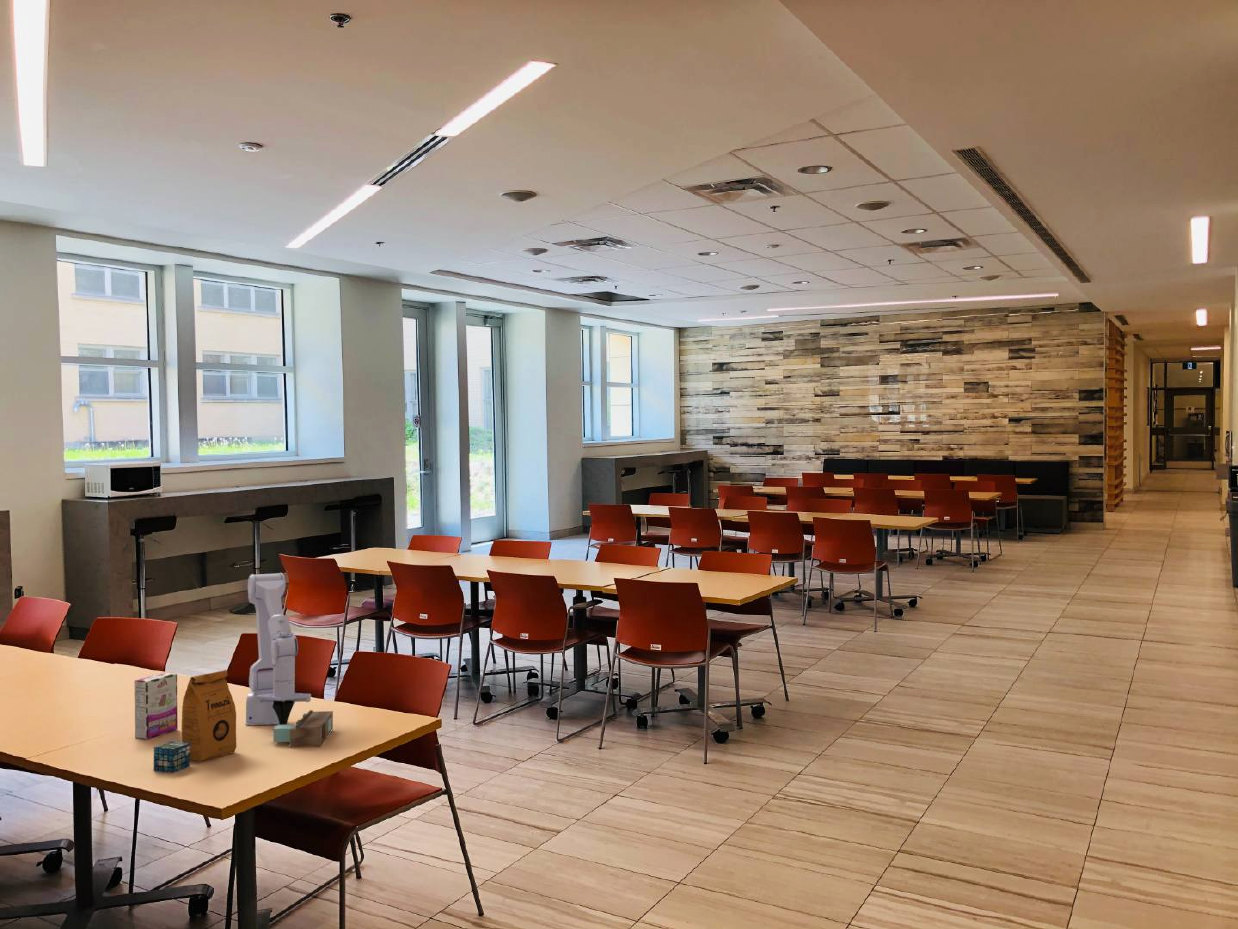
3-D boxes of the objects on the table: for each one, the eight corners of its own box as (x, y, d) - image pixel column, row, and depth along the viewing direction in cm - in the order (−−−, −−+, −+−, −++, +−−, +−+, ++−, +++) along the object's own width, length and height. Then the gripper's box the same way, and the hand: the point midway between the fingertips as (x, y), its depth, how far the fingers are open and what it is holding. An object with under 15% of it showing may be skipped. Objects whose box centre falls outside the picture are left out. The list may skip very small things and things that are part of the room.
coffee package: (241, 754, 255) (242, 670, 255) (198, 765, 245) (199, 679, 245) (219, 747, 261) (220, 666, 261) (176, 759, 250) (177, 674, 251)
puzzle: (170, 764, 246) (170, 741, 246) (190, 766, 244) (190, 743, 244) (153, 771, 240) (153, 747, 240) (172, 773, 239) (173, 749, 239)
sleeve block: (289, 747, 261) (290, 726, 261) (304, 730, 278) (304, 710, 278) (320, 746, 262) (320, 725, 262) (332, 730, 279) (332, 710, 279)
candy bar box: (164, 728, 280) (165, 671, 280) (178, 730, 278) (178, 673, 278) (133, 738, 269) (133, 679, 269) (146, 740, 268) (147, 681, 268)
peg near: (273, 742, 263) (273, 728, 263) (277, 737, 267) (277, 725, 267) (303, 741, 264) (303, 728, 264) (306, 737, 268) (306, 724, 268)
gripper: (253, 683, 268) (253, 731, 268) (307, 682, 270) (306, 730, 270) (260, 677, 276) (260, 725, 275) (312, 676, 277) (312, 724, 277)
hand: (283, 727), depth 273 cm, fingers closed
